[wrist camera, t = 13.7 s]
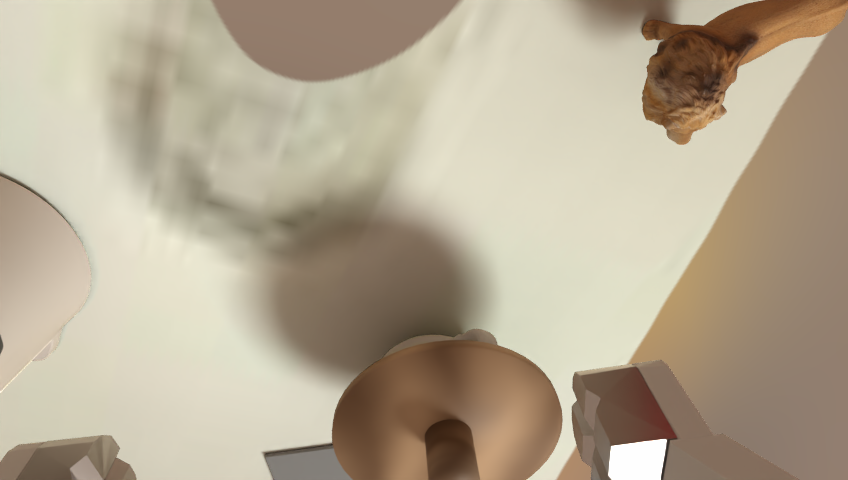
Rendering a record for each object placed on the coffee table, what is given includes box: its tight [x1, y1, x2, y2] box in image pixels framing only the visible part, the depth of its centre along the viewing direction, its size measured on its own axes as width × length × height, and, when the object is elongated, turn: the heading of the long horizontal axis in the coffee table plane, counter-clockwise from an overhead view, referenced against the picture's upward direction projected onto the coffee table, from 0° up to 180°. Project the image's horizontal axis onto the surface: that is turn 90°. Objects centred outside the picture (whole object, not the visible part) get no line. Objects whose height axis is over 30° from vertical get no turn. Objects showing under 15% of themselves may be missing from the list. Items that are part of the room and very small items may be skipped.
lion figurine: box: [642, 0, 848, 145], centre depth 31 cm, size 15×5×9 cm, turn 126°
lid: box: [332, 340, 562, 480], centre depth 39 cm, size 17×17×5 cm
